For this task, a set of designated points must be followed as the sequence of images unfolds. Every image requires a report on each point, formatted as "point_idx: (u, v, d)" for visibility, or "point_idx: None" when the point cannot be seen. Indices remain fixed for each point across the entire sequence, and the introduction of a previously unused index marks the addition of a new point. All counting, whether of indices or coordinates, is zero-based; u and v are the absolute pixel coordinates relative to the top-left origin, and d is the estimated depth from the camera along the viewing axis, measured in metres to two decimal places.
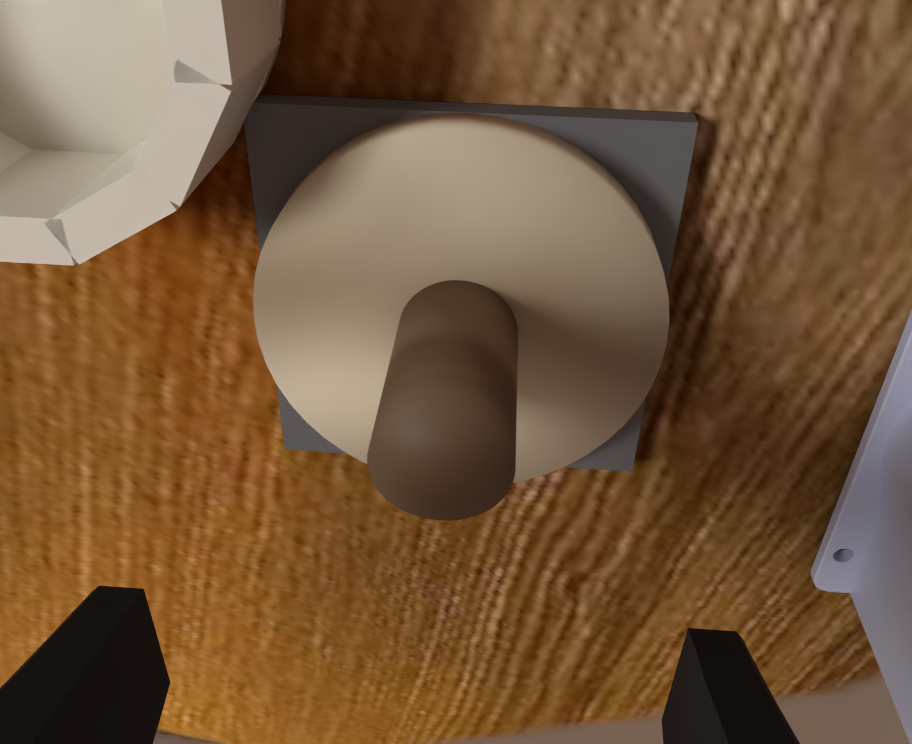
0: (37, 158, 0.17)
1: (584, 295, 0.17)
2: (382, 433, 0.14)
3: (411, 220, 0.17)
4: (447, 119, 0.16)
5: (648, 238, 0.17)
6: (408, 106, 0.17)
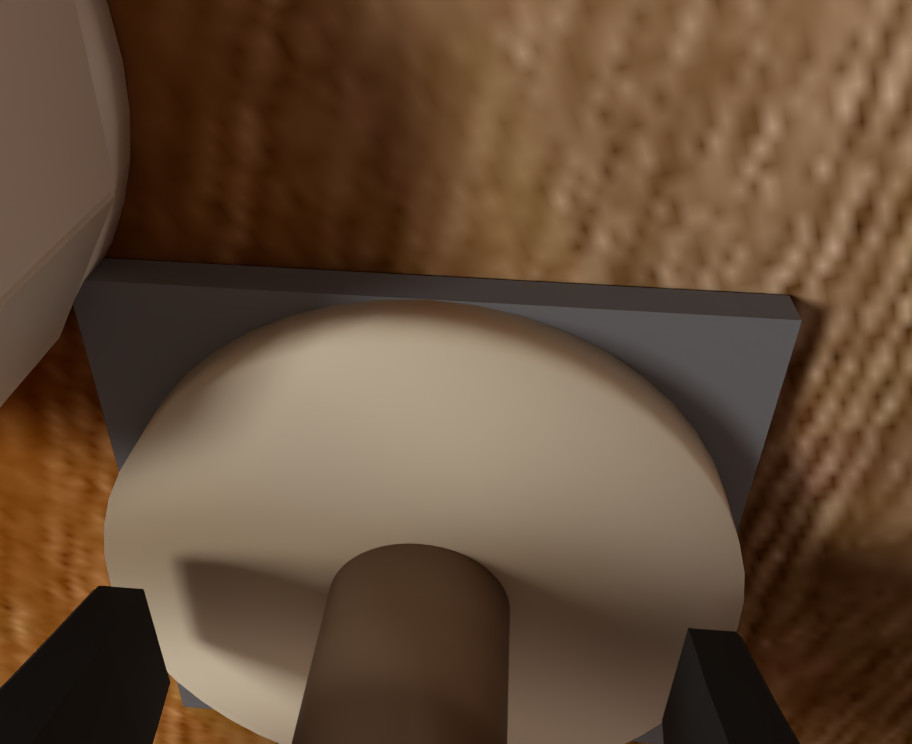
0: None
1: (613, 568, 0.11)
2: None
3: (339, 466, 0.10)
4: (394, 318, 0.10)
5: (717, 498, 0.10)
6: (334, 285, 0.10)
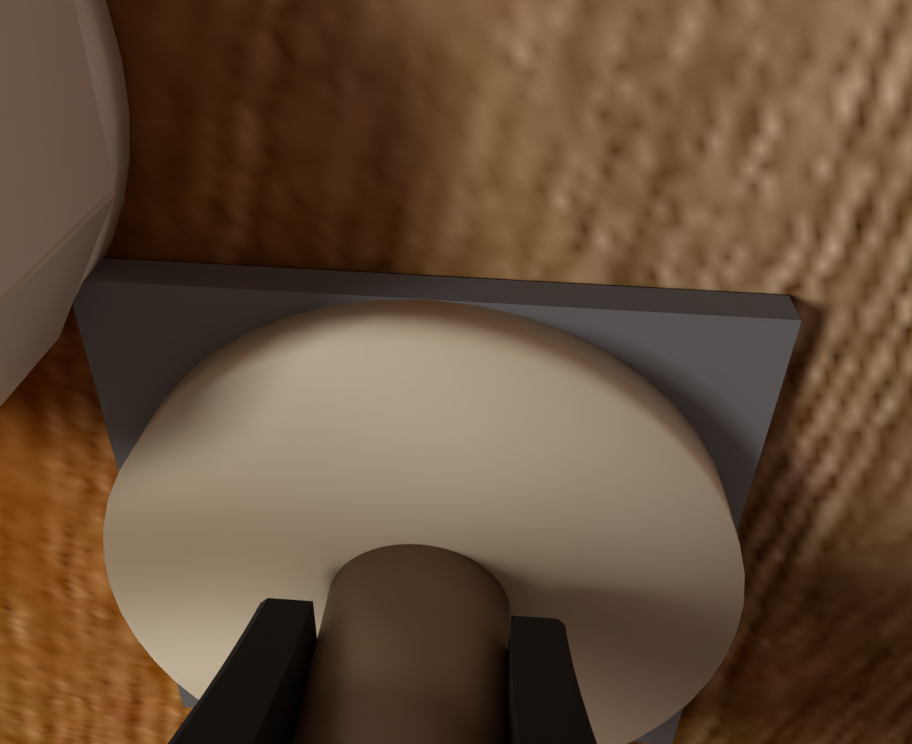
0: None
1: (614, 569, 0.11)
2: None
3: (339, 466, 0.10)
4: (394, 318, 0.10)
5: (718, 499, 0.10)
6: (334, 285, 0.10)
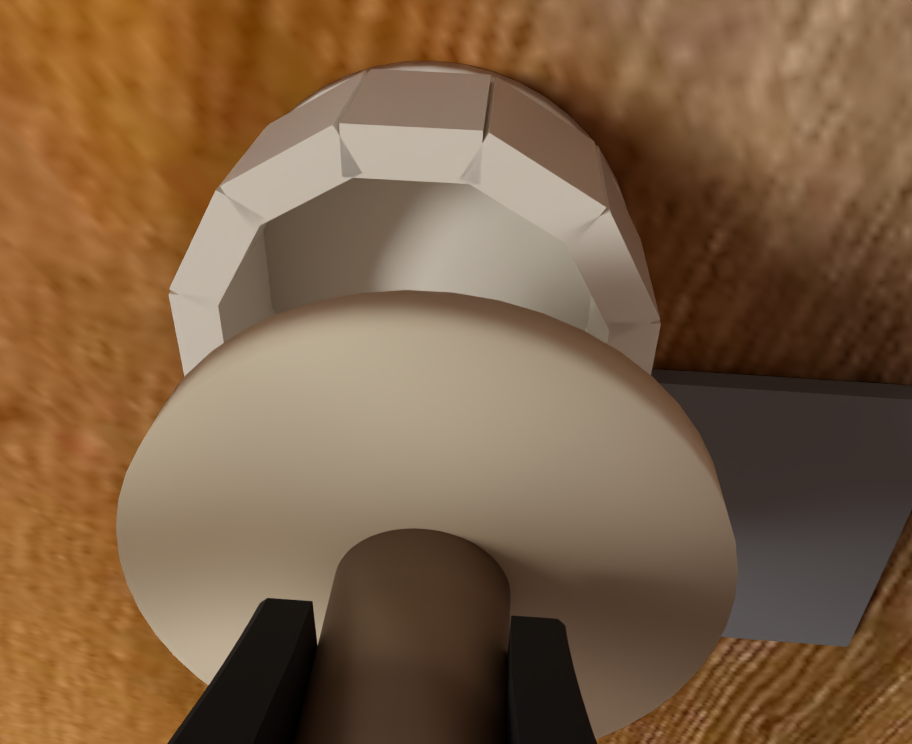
0: None
1: (607, 543, 0.11)
2: None
3: (332, 456, 0.11)
4: (374, 309, 0.10)
5: (700, 467, 0.11)
6: (713, 381, 0.20)
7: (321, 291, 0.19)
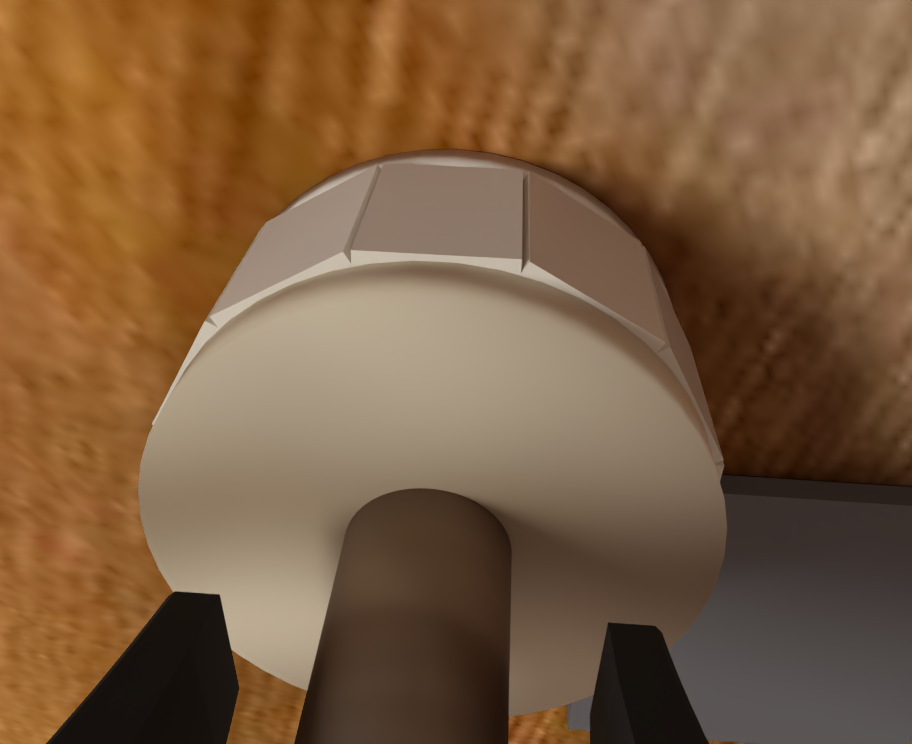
0: None
1: (603, 502, 0.12)
2: None
3: (343, 418, 0.12)
4: (383, 278, 0.11)
5: (691, 427, 0.11)
6: (765, 489, 0.18)
7: None
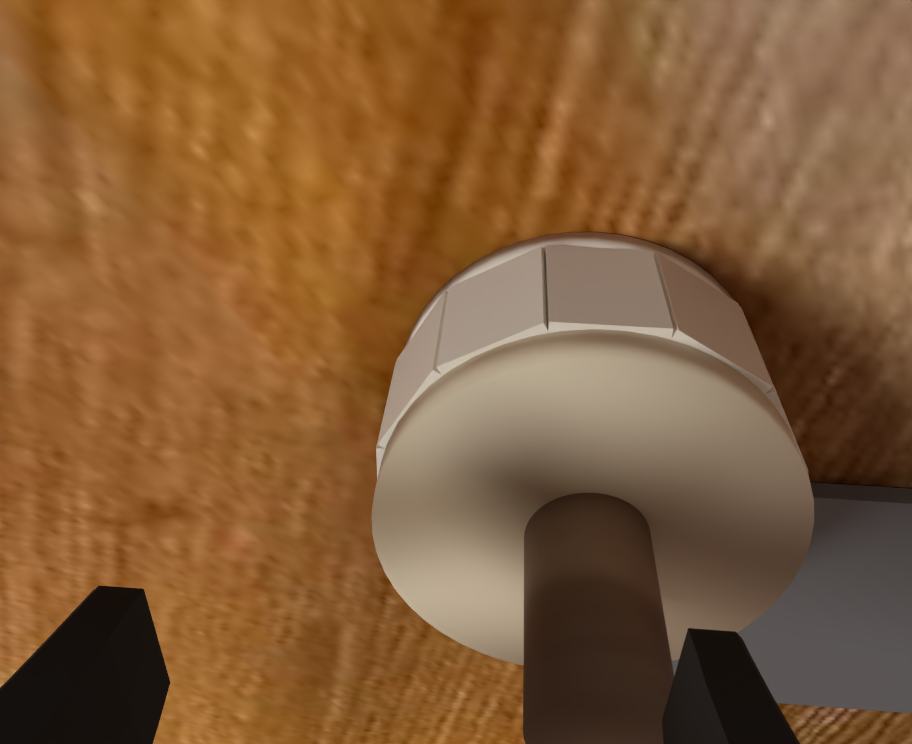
0: None
1: (723, 502, 0.17)
2: (541, 709, 0.13)
3: (539, 442, 0.16)
4: (576, 343, 0.15)
5: (793, 449, 0.16)
6: (823, 492, 0.22)
7: None
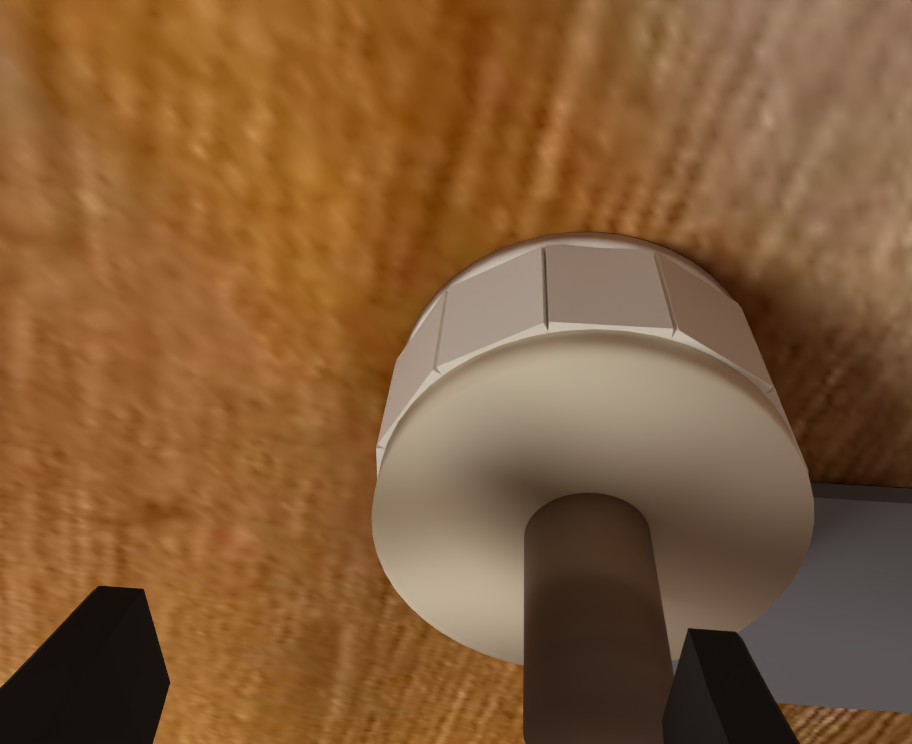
0: None
1: (723, 502, 0.17)
2: (541, 709, 0.13)
3: (539, 442, 0.16)
4: (576, 343, 0.15)
5: (793, 449, 0.16)
6: (823, 492, 0.22)
7: None
